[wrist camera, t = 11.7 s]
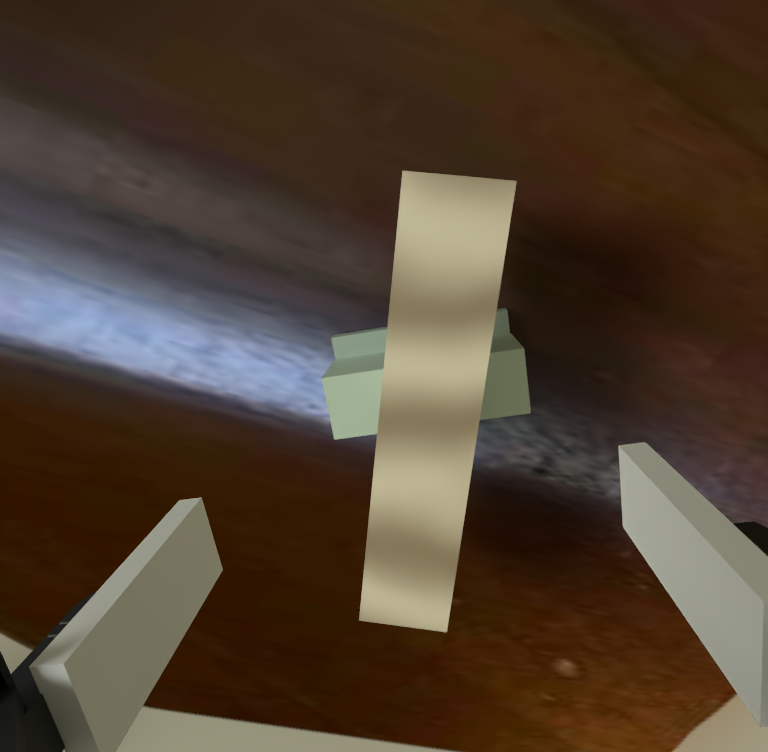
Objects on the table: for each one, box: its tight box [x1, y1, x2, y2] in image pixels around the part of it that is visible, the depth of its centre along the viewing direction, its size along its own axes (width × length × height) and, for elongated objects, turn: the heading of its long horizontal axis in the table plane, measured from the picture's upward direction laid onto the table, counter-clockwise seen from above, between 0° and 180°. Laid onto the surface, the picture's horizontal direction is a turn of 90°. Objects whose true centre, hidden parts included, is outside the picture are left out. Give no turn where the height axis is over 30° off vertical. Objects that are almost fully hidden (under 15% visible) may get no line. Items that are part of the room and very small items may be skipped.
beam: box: [359, 171, 516, 632], centre depth 28 cm, size 24×5×5 cm, turn 175°
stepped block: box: [322, 308, 531, 440], centre depth 33 cm, size 12×7×6 cm, turn 100°
